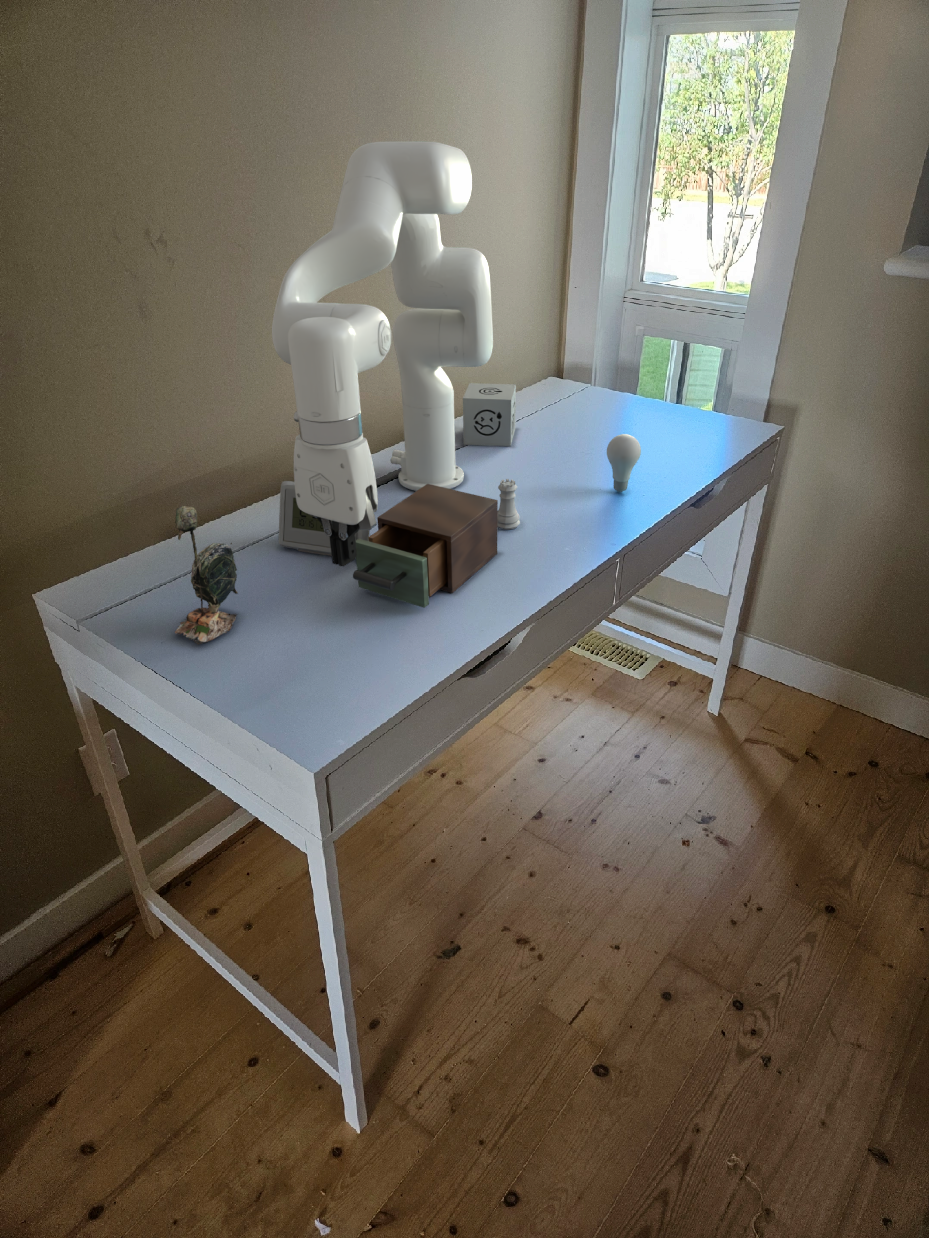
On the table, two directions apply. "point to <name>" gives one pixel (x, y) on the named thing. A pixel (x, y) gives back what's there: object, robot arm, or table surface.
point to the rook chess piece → (507, 506)
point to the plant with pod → (207, 583)
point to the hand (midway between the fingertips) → (344, 560)
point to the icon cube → (489, 414)
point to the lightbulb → (623, 459)
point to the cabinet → (451, 527)
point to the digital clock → (303, 526)
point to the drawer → (402, 564)
